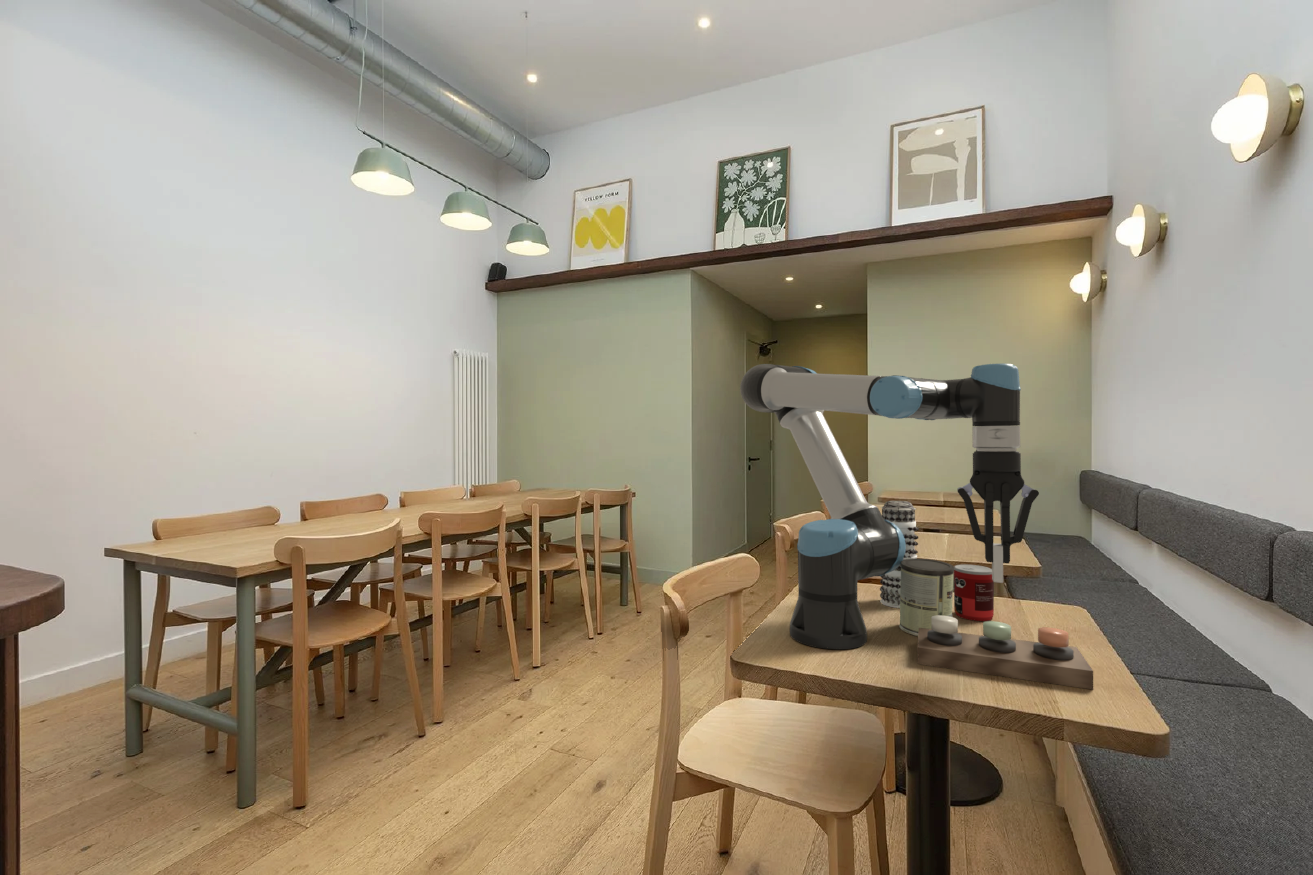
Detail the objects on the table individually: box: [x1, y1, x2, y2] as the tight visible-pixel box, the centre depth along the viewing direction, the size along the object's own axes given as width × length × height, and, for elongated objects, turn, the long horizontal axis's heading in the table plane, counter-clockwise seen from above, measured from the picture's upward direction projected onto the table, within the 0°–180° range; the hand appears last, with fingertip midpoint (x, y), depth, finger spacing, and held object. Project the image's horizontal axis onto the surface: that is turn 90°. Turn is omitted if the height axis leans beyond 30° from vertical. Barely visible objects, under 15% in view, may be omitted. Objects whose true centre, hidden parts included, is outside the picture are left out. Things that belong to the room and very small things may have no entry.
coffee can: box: [898, 557, 955, 637], centre depth 124 cm, size 10×10×14 cm
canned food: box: [953, 564, 995, 622], centre depth 134 cm, size 8×8×11 cm
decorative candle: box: [879, 500, 920, 609], centre depth 145 cm, size 9×9×25 cm
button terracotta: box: [1037, 626, 1070, 647], centre depth 103 cm, size 4×4×2 cm
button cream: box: [931, 615, 959, 634], centre depth 110 cm, size 4×4×2 cm
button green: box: [982, 620, 1012, 640], centre depth 106 cm, size 4×4×2 cm
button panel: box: [916, 628, 1094, 690], centre depth 106 cm, size 26×12×4 cm, turn 65°
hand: (997, 580), depth 106 cm, fingers closed
